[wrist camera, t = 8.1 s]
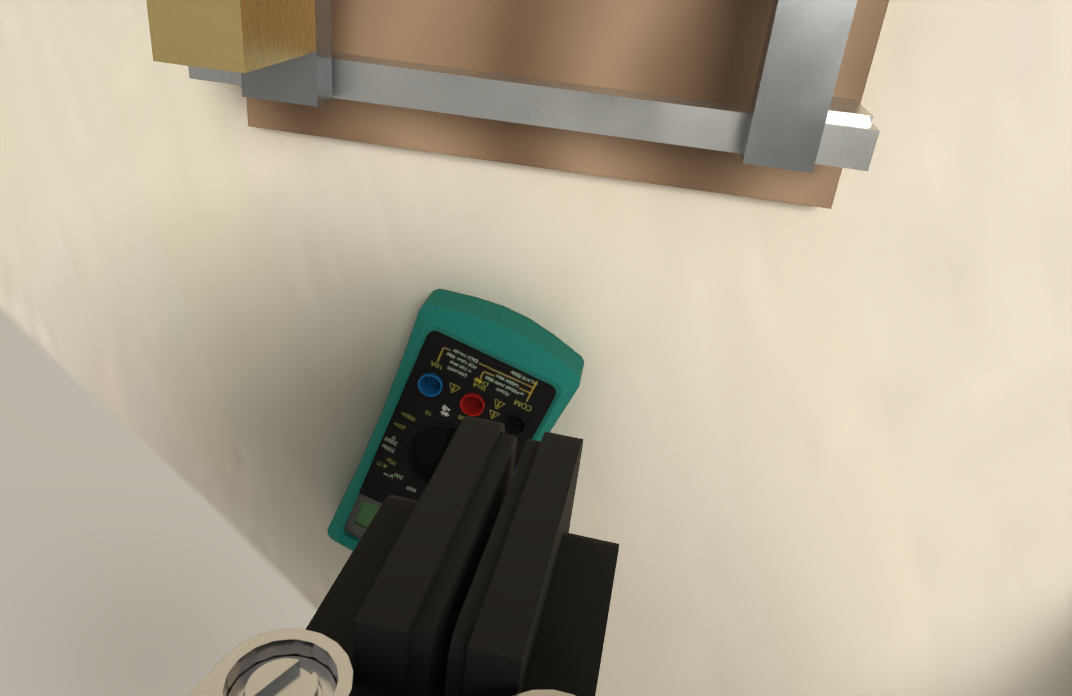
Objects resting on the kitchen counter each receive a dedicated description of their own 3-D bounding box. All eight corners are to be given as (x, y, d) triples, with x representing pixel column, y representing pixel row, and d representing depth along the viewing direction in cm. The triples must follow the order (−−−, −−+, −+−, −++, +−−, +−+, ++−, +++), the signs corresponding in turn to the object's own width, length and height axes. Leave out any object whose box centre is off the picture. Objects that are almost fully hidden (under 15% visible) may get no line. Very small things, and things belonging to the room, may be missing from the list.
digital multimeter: (595, 344, 35) (587, 376, 33) (469, 569, 42) (455, 610, 39) (442, 269, 35) (422, 296, 32) (340, 509, 42) (318, 547, 39)
